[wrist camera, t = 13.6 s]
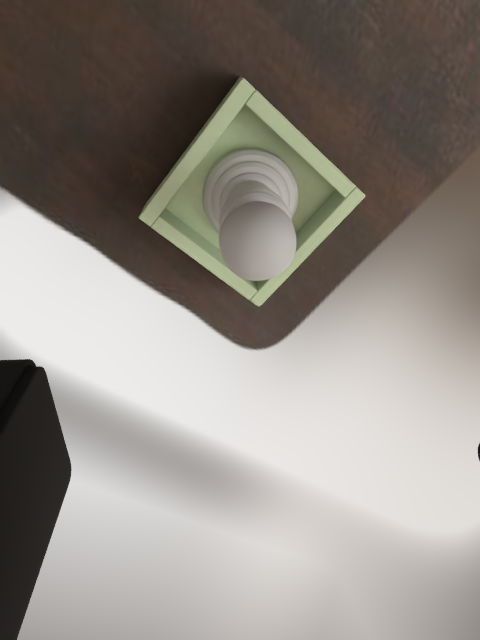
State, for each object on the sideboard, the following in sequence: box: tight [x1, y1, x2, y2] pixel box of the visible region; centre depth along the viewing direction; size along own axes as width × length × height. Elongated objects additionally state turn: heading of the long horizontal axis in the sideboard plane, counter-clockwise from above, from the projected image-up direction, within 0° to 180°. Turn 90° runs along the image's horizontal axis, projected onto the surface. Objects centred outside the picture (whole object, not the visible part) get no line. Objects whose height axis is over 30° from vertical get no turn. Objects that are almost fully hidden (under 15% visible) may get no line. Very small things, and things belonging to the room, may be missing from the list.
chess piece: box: [203, 148, 298, 281], centre depth 21 cm, size 5×5×9 cm
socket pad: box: [139, 76, 365, 307], centre depth 25 cm, size 9×9×3 cm
